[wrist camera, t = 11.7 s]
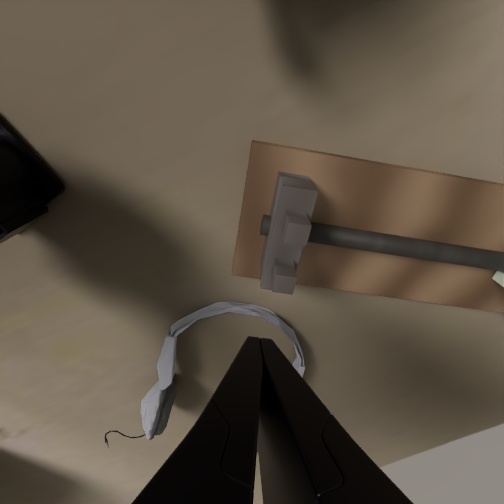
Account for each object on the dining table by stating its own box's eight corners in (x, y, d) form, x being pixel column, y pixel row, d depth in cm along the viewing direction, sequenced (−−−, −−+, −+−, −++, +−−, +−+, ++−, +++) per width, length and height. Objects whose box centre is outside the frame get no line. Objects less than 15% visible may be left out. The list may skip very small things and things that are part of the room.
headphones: (260, 449, 35) (322, 309, 29) (264, 504, 29) (341, 346, 23) (113, 423, 32) (147, 264, 26) (88, 477, 27) (123, 293, 21)
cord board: (232, 268, 24) (225, 322, 18) (252, 139, 19) (251, 158, 13) (545, 312, 26) (629, 374, 20) (633, 206, 21) (777, 248, 15)
